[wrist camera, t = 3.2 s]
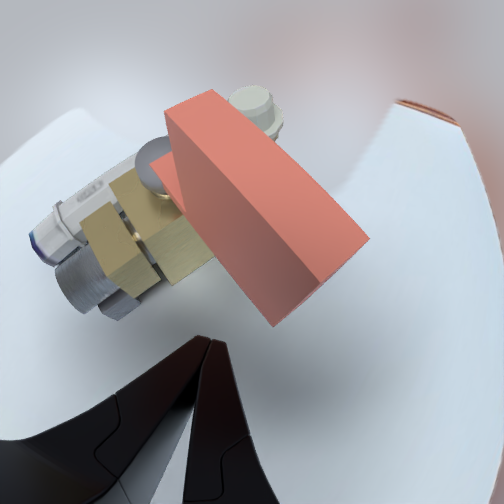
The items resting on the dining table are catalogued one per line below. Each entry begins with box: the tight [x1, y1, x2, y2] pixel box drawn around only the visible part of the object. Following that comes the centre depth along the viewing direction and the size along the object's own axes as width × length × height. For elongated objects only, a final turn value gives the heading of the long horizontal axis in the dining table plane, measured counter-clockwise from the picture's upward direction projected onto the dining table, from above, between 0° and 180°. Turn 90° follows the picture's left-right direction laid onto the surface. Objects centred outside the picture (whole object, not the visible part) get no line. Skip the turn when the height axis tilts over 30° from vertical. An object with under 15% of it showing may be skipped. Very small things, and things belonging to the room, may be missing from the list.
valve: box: [55, 167, 215, 321], centre depth 19 cm, size 16×5×9 cm, turn 129°
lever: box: [135, 89, 370, 327], centre depth 10 cm, size 11×3×7 cm, turn 39°
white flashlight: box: [29, 85, 283, 267], centre depth 24 cm, size 5×7×25 cm
